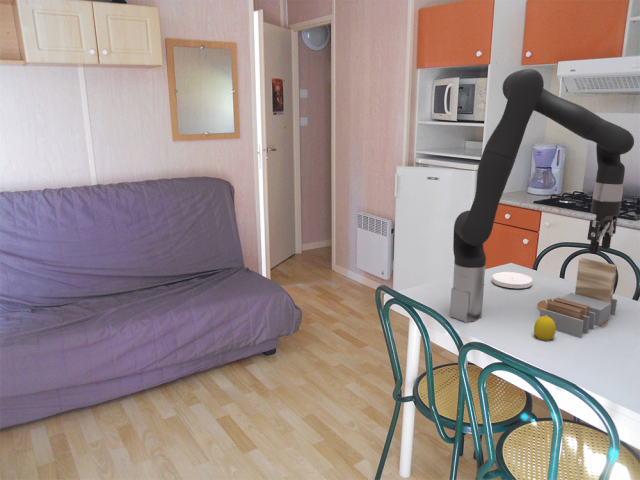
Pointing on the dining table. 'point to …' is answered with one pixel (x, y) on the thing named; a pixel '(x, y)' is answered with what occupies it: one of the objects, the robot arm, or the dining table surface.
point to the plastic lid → (512, 280)
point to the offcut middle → (574, 305)
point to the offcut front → (565, 310)
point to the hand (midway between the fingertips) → (599, 251)
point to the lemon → (544, 328)
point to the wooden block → (595, 280)
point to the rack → (596, 316)
